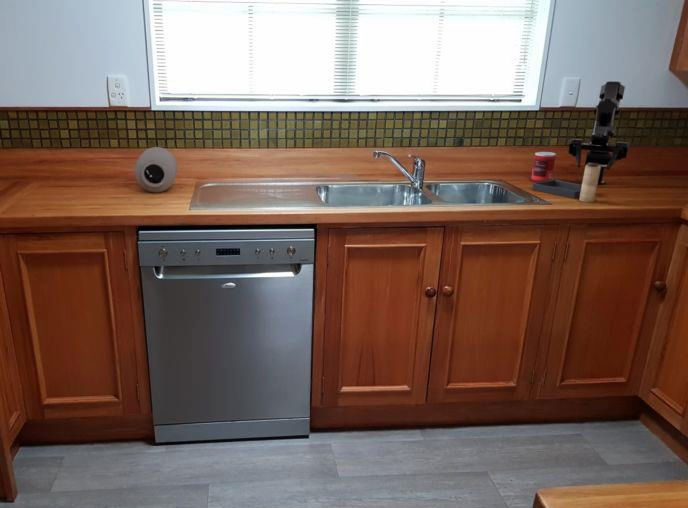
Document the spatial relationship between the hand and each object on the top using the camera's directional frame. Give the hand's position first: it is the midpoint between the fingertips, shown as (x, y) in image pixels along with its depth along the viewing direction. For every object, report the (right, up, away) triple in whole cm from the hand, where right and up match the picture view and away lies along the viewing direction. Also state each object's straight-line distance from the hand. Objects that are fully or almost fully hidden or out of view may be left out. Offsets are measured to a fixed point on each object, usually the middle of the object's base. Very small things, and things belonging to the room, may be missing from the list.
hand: (593, 167), depth 213 cm
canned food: (-5, +2, +33) cm, 33 cm away
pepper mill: (-2, -11, +1) cm, 12 cm away
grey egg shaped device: (-154, -6, +12) cm, 154 cm away
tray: (-4, -6, +14) cm, 16 cm away
